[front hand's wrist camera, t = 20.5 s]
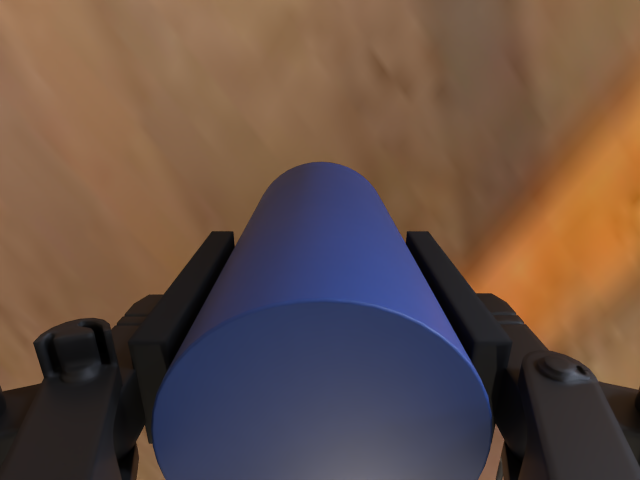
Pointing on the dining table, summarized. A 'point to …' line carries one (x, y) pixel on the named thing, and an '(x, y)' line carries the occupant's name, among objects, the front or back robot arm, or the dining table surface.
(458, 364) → the cylinder
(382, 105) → the dining table surface
